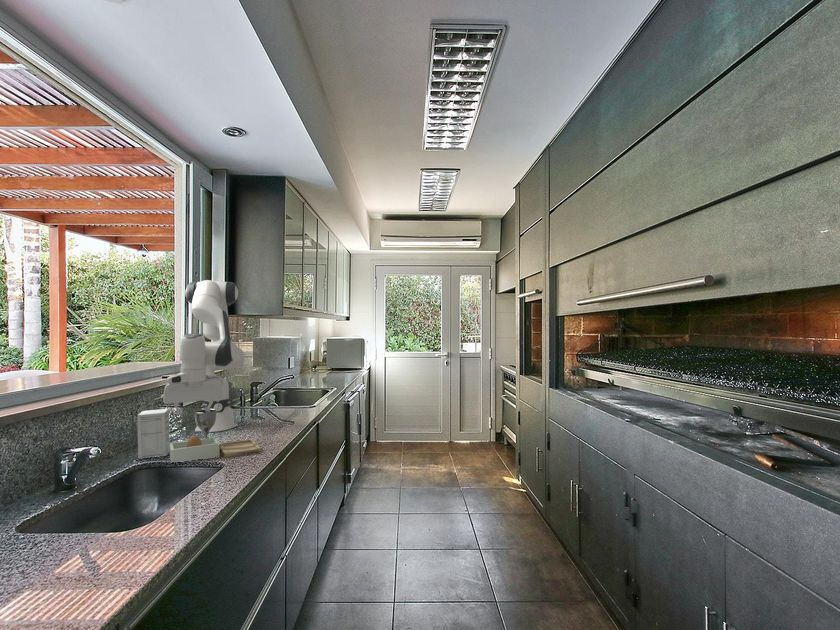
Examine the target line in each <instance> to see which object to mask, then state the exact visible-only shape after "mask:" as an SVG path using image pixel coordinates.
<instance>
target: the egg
mask: <svg viewBox="0 0 840 630" xmlns="http://www.w3.org/2000/svg"><path fill="white" fill-rule="evenodd" d="M200 439H201V438H200V436H198V435H192V436H191V437H189V439H188V440H187V441H188V443H187V447H193V446H200V445H202V443H201V440H200Z"/></svg>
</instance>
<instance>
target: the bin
mask: <svg viewBox="0 0 840 630" xmlns="http://www.w3.org/2000/svg"><path fill="white" fill-rule="evenodd" d="M200 440H201V443H202V445H200V446H193V447H187V443H188V440H185V441H184V440H183V441H177V442H175V441H174V442H170V451H169V460H171V462H170V464H171V463H172V462H181V461H189V462H191V461H190V460H196V461H199V460H198V459H203V460H207V459H208V458H209V459H214V458H215V457H216V458H220V456H221V455H220V449H219V444H220V442H219V441H218V439H217V437H216V436H213V437H207V438H205V437H204V438H200Z"/></svg>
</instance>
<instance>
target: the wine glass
mask: <svg viewBox="0 0 840 630" xmlns="http://www.w3.org/2000/svg"><path fill="white" fill-rule="evenodd" d="M205 410H206V409H197V410H195V411H194V420H195V421H194V422H195V424H196V427H197V426H198V428H199V429H200V430H202V431H201V432H202V434H203V435H204V436H203V437H204V439H205V438H208V436H209V435H208V434H209V433H210V432H209V431H210V429H211V428H212V427H213V426H214V424H215V421H216V409H210V412H205Z"/></svg>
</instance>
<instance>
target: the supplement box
mask: <svg viewBox="0 0 840 630" xmlns="http://www.w3.org/2000/svg"><path fill="white" fill-rule="evenodd" d="M136 419H137V458H145V457H155V456H156V457H157V456H166V455H167V456H168V454H170V443H171V442H170V441H171V440H170V439H171V438H170V408H161V409H149V410H142V411H141V412H140V413H138V414H137V418H136ZM167 456H166V457H167Z"/></svg>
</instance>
